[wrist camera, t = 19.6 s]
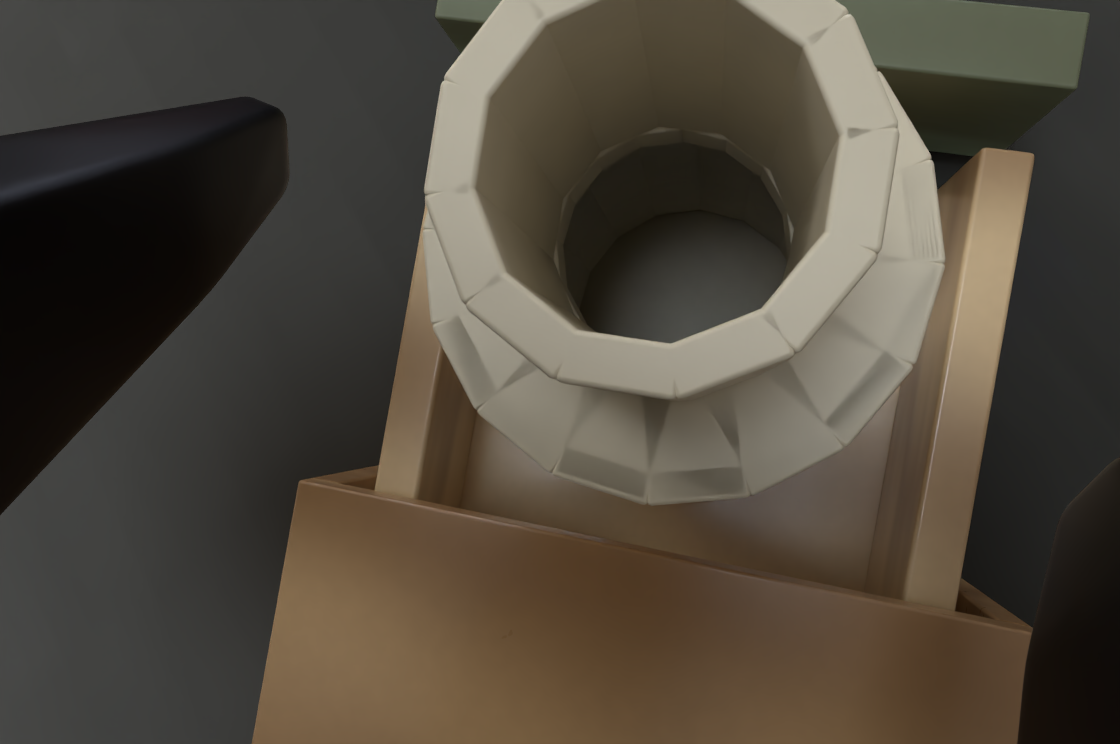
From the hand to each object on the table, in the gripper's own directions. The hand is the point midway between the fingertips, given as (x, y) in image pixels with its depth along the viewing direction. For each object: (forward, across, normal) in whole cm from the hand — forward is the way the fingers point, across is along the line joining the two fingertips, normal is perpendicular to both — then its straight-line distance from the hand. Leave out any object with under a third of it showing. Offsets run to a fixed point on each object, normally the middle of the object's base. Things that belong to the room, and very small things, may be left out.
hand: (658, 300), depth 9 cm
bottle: (+6, 0, +6) cm, 8 cm away
